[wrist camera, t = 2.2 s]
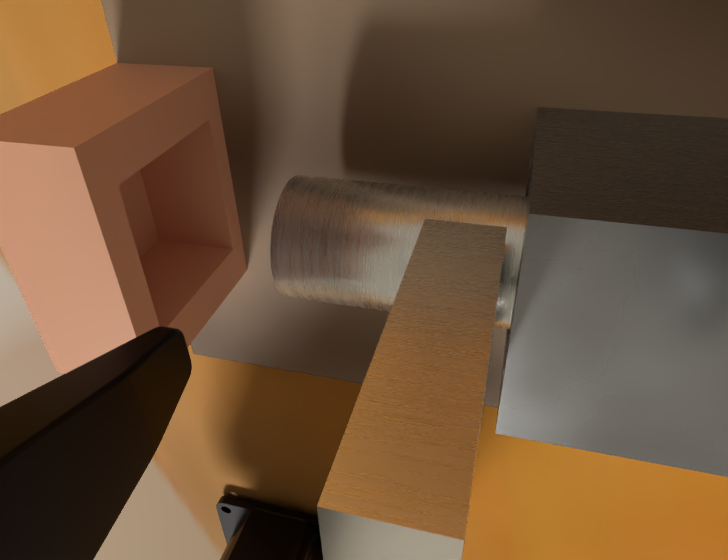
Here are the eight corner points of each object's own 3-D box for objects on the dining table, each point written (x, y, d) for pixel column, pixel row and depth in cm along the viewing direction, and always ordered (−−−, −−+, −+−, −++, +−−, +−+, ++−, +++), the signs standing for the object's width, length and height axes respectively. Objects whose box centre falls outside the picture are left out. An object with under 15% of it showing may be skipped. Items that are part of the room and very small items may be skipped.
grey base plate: (715, 421, 17) (722, 447, 17) (206, 336, 21) (193, 354, 21) (991, -162, 9) (1029, -165, 9) (96, -128, 13) (67, -128, 13)
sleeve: (783, 326, 14) (871, 503, 10) (510, 290, 16) (495, 433, 12) (883, 127, 11) (1059, 266, 7) (537, 107, 13) (529, 214, 9)
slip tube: (883, 199, 11) (1447, 768, 4) (816, 322, 13) (1129, 869, 6) (310, 151, 14) (53, 445, 7) (318, 258, 15) (123, 580, 8)
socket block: (247, 270, 18) (153, 390, 14) (168, 259, 18) (57, 371, 14) (212, 67, 14) (73, 148, 10) (117, 62, 15) (-50, 136, 11)
